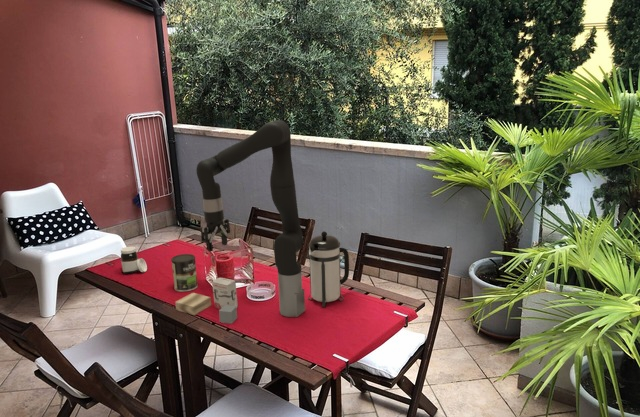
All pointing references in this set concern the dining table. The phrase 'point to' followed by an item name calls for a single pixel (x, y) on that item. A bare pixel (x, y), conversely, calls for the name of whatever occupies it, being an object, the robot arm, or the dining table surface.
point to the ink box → (224, 292)
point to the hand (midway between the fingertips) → (217, 247)
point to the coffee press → (326, 268)
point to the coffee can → (184, 272)
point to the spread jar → (132, 261)
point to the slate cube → (228, 314)
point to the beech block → (193, 303)
